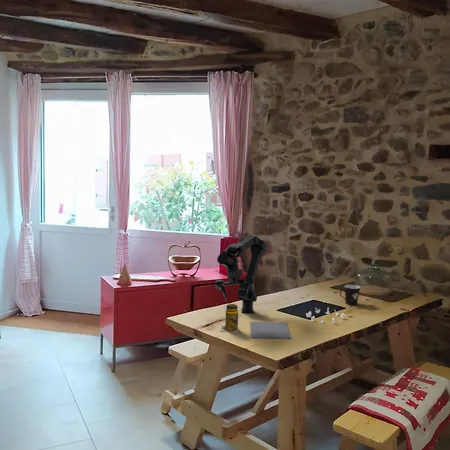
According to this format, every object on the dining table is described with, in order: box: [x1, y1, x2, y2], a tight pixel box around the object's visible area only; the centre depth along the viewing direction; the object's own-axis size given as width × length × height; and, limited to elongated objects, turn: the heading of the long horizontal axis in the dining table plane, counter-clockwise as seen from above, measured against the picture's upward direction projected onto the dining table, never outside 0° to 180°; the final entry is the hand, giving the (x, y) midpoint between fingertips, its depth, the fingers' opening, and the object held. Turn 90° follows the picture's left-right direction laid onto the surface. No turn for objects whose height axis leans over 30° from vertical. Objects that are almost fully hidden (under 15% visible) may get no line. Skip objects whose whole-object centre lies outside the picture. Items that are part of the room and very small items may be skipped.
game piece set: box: [305, 307, 346, 324], centre depth 269 cm, size 19×20×4 cm
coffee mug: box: [339, 284, 361, 306], centre depth 295 cm, size 12×9×10 cm
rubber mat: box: [249, 321, 292, 340], centre depth 248 cm, size 22×18×1 cm
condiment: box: [219, 303, 240, 333], centre depth 247 cm, size 7×8×12 cm
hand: (236, 299), depth 252 cm, fingers open, 9 cm apart
